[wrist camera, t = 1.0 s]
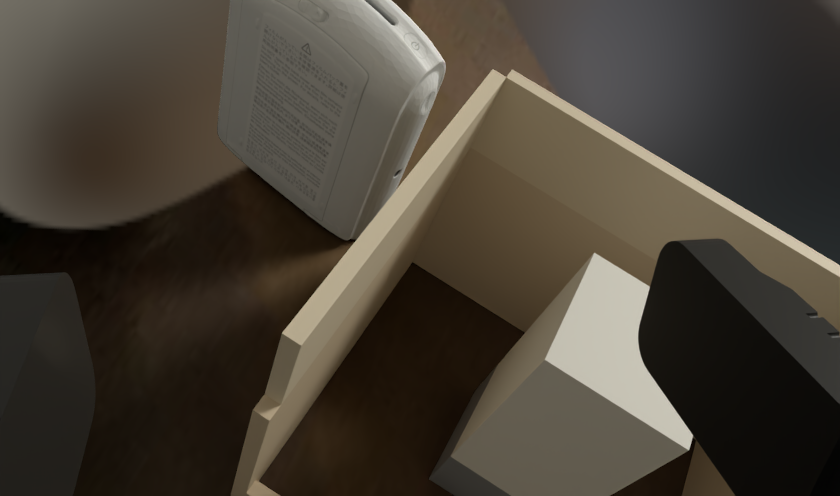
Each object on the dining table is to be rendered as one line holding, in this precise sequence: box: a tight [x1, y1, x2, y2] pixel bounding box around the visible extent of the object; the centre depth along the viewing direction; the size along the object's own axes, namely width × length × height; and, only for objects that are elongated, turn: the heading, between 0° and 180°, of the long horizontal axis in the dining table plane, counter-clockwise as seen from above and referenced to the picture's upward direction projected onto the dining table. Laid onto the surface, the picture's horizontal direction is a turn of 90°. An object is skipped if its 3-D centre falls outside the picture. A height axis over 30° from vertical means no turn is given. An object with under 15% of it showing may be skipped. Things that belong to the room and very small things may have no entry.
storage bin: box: [231, 70, 840, 496], centre depth 27 cm, size 18×15×13 cm
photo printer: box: [217, 0, 446, 240], centre depth 33 cm, size 10×4×12 cm, turn 55°
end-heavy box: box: [429, 253, 693, 496], centre depth 27 cm, size 5×5×12 cm
